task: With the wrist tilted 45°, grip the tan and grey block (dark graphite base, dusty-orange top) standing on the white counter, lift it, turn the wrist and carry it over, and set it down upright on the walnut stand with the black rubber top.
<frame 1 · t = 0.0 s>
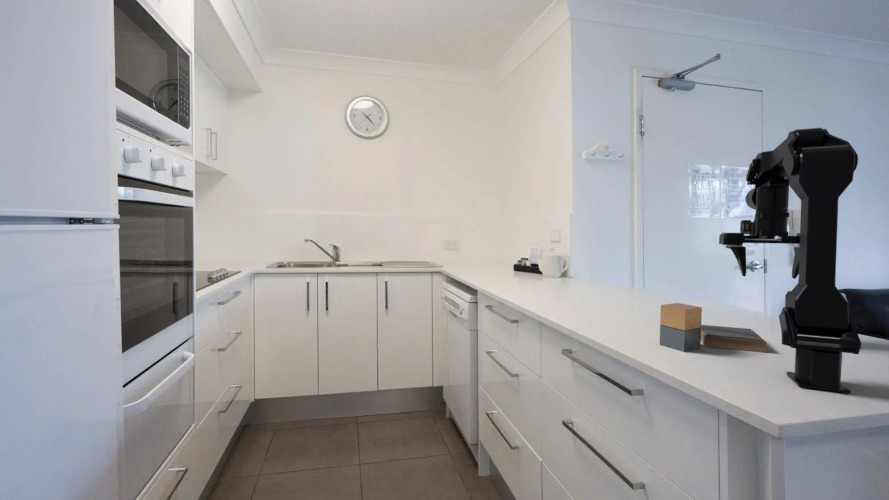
hand: (768, 277, 93), 15 cm above the countertop, tool pointing down, fingers open, 9 cm apart
walnut stand: (728, 342, 93), on the countertop
photo printer: (814, 342, 93), on the countertop
tan and grey block: (679, 346, 90), on the countertop
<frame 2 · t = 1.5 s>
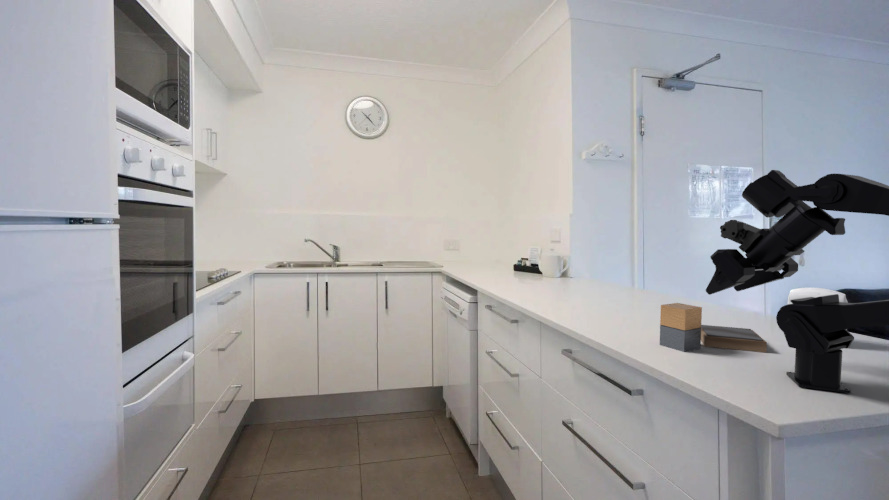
hand: (721, 291, 82), 13 cm above the countertop, tool tilted 45°, fingers open, 9 cm apart
nothing on the countertop moved.
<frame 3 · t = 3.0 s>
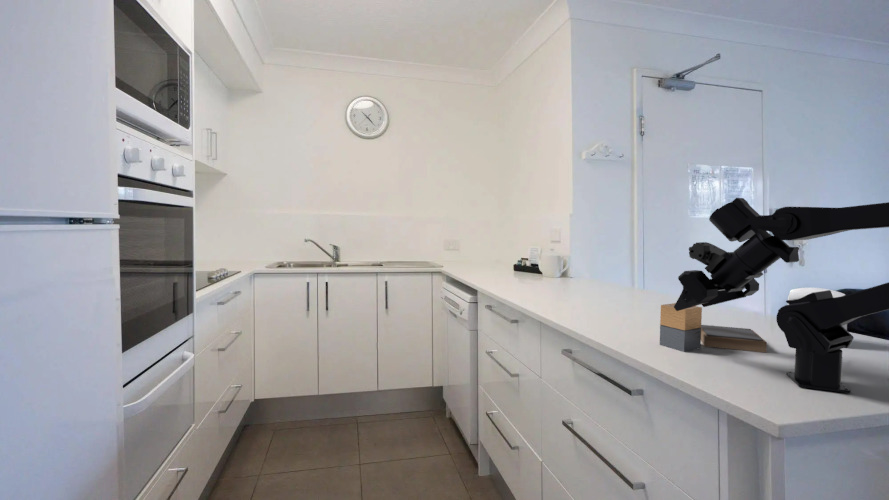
hand: (689, 307, 87), 9 cm above the countertop, tool tilted 45°, fingers open, 9 cm apart
nothing on the countertop moved.
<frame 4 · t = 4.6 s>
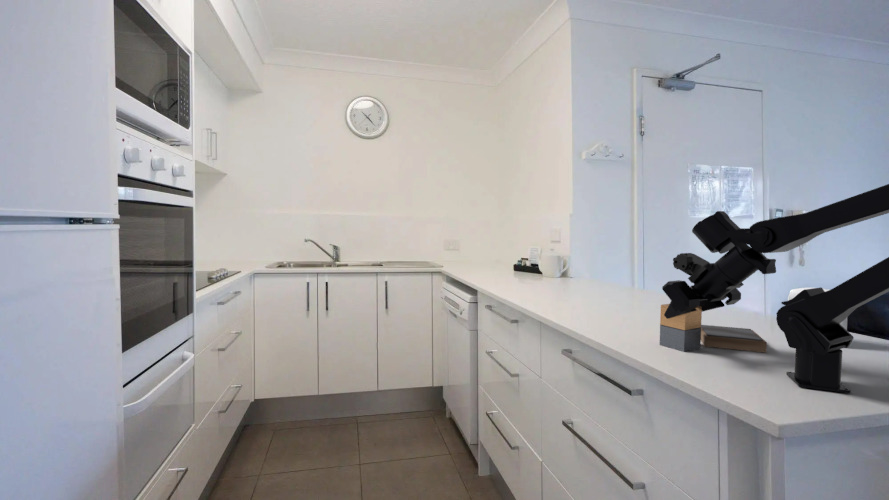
hand: (674, 315, 91), 7 cm above the countertop, tool tilted 45°, fingers closed on tan and grey block, 6 cm apart
tan and grey block: (679, 346, 90), on the countertop, touching gripper
everything else where it was.
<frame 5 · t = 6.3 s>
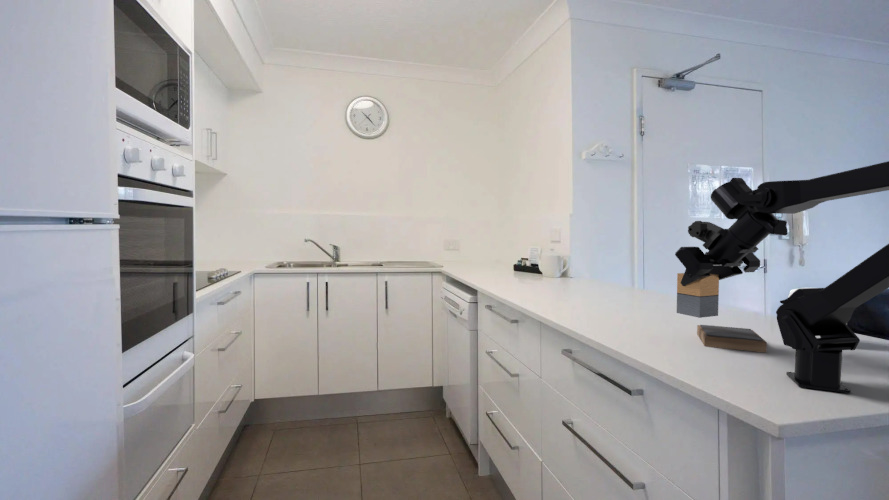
hand: (692, 283, 92), 13 cm above the countertop, tool tilted 45°, fingers closed on tan and grey block, 6 cm apart
tan and grey block: (696, 314, 91), point 7 cm above the countertop, touching gripper
everything else where it was.
when the fingers open (10 cm above the countertop, at t = 8.0 s): tan and grey block drops 1 cm, resting on walnut stand.
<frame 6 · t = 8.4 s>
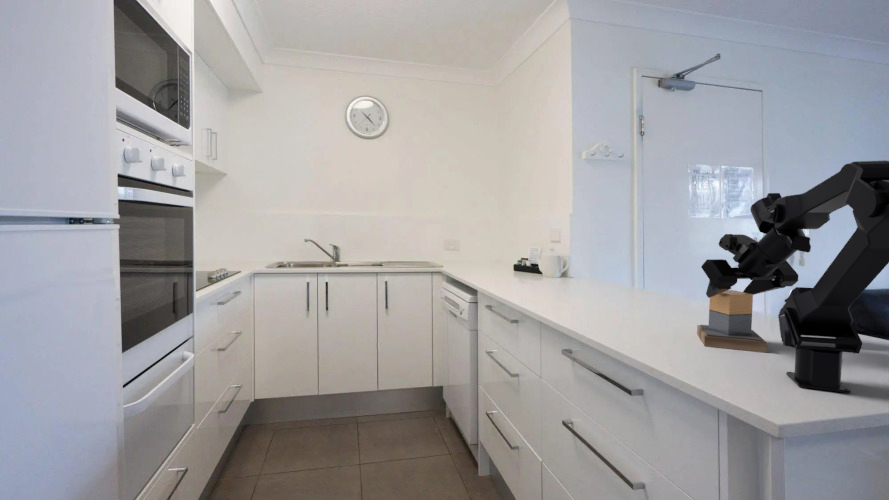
hand: (725, 295, 93), 11 cm above the countertop, tool tilted 45°, fingers open, 9 cm apart
tan and grey block: (729, 331, 92), point 2 cm above the countertop, touching walnut stand
everything else where it was.
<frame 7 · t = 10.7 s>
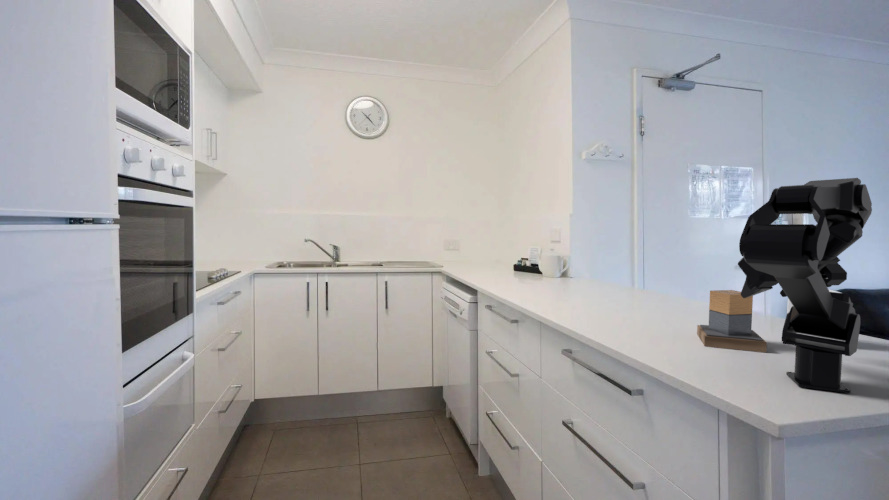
hand: (762, 295, 84), 12 cm above the countertop, tool tilted 45°, fingers open, 9 cm apart
nothing on the countertop moved.
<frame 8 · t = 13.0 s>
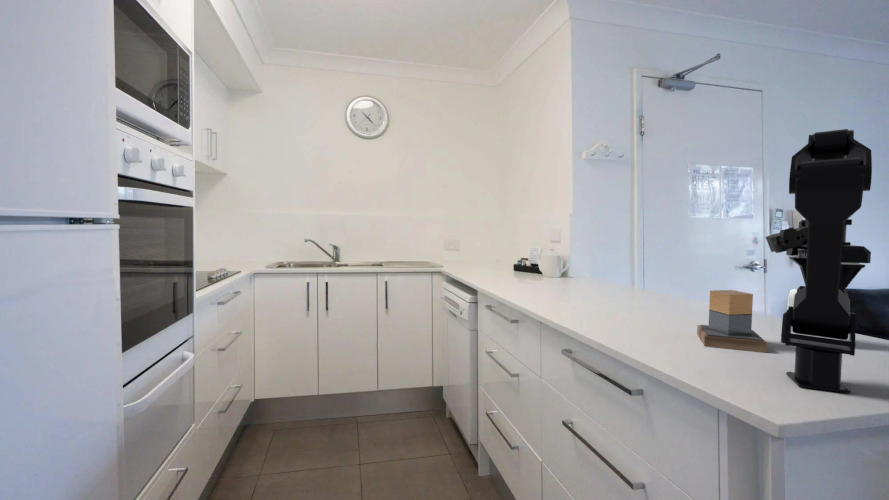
hand: (820, 297, 77), 13 cm above the countertop, tool pointing down, fingers open, 9 cm apart
nothing on the countertop moved.
at the end: tan and grey block 0.1 cm off-centre on the walnut stand, point 2.5 cm above the walnut stand's base; tan and grey block tilted 0°; the gripper is holding nothing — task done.
